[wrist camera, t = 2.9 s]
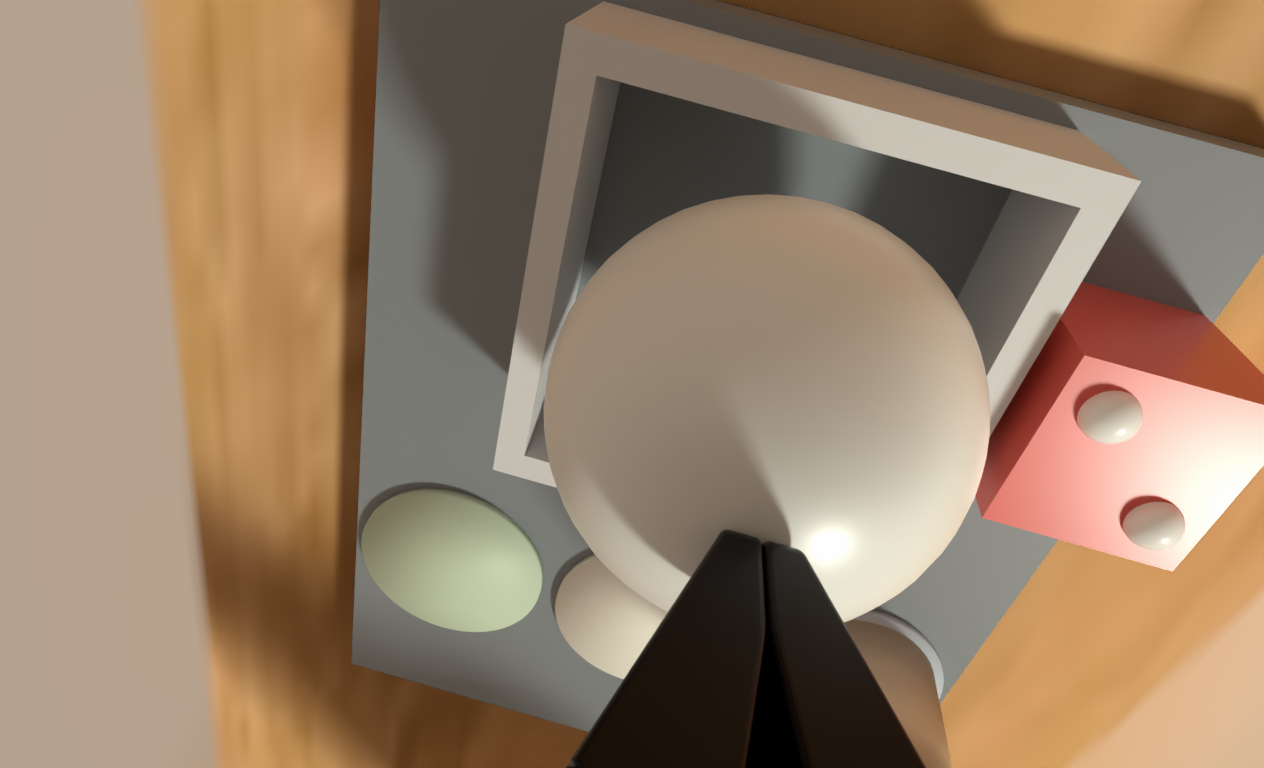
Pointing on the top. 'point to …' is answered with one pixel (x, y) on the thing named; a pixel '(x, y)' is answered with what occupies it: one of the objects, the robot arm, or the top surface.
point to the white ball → (767, 399)
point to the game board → (659, 187)
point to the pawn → (905, 687)
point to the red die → (1127, 431)
